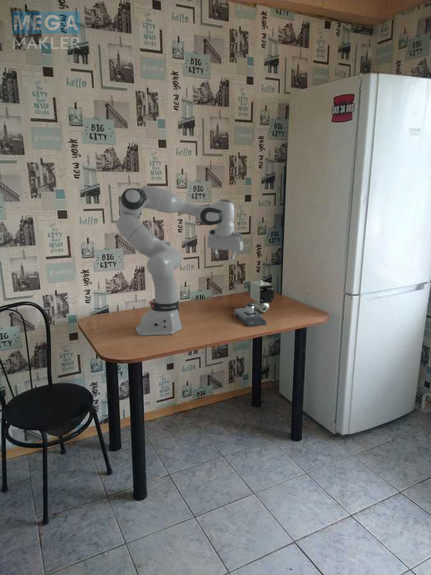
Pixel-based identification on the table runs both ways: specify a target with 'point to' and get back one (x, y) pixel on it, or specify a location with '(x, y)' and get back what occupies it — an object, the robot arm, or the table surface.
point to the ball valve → (261, 294)
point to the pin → (250, 308)
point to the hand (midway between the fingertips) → (224, 257)
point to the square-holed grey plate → (250, 317)
